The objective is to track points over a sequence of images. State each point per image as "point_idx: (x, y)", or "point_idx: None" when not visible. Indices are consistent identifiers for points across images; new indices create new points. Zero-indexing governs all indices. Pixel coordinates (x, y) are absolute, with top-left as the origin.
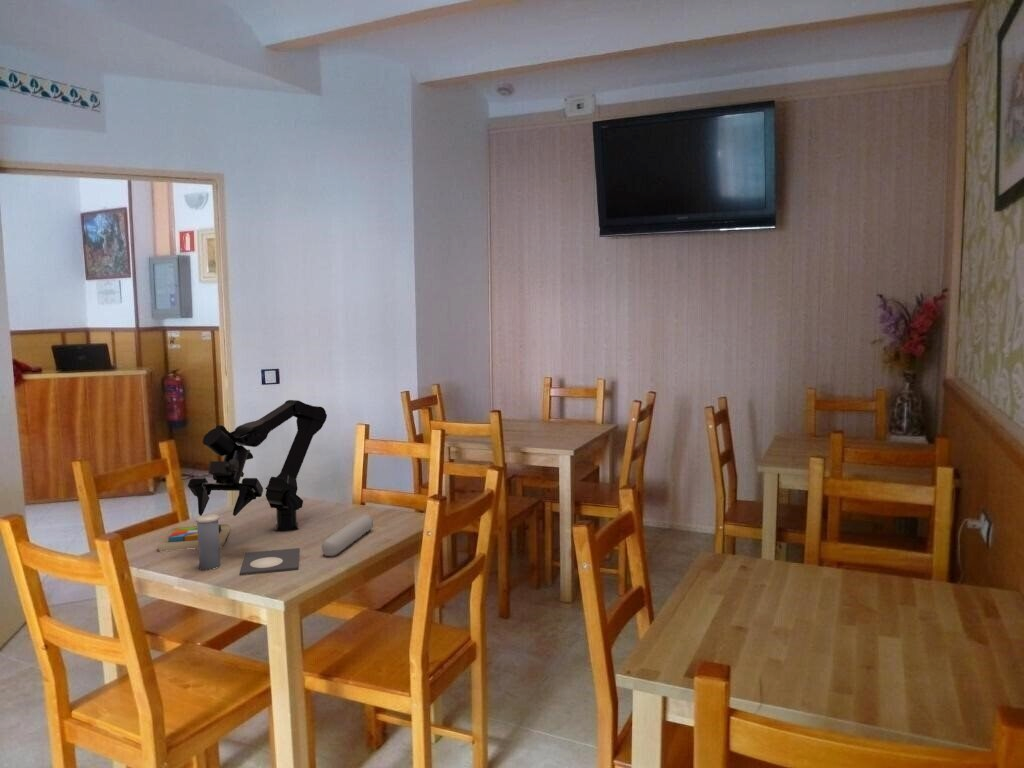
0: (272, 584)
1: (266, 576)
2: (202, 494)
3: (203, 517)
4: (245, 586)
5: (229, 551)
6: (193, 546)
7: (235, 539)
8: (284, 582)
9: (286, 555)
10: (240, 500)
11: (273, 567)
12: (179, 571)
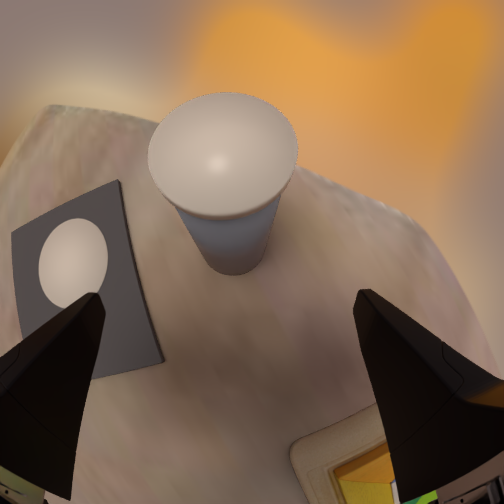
0: (52, 148)
1: (63, 185)
2: (461, 399)
3: (246, 134)
4: (97, 128)
5: (239, 399)
6: (378, 409)
7: (278, 500)
8: (35, 162)
9: (41, 325)
10: (11, 349)
11: (50, 226)
12: (307, 200)
